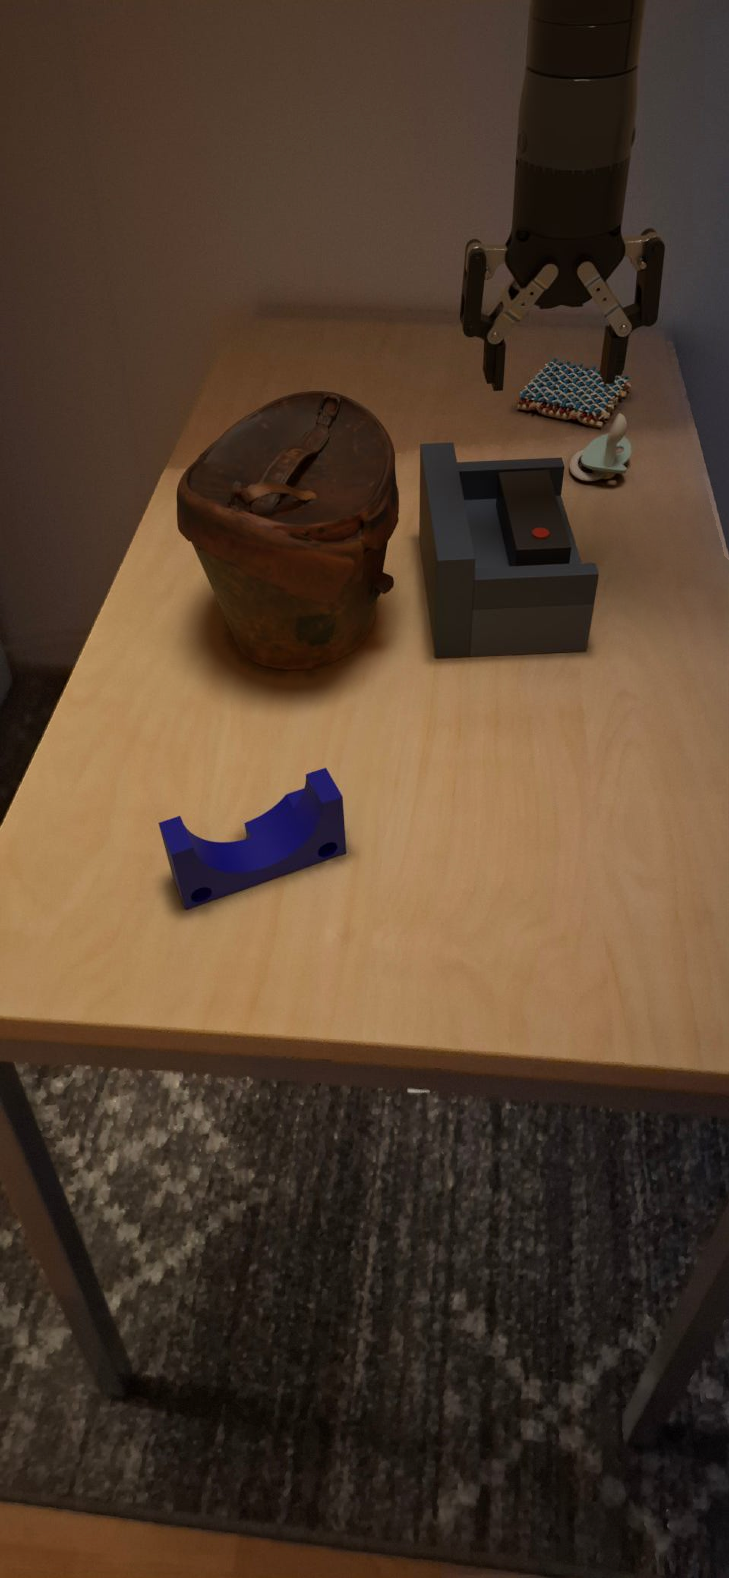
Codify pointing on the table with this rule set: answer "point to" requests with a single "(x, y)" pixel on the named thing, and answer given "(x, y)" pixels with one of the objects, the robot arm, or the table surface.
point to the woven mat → (573, 393)
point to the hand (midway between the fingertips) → (551, 383)
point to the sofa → (493, 566)
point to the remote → (531, 519)
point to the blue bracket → (259, 844)
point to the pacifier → (604, 454)
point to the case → (295, 526)
